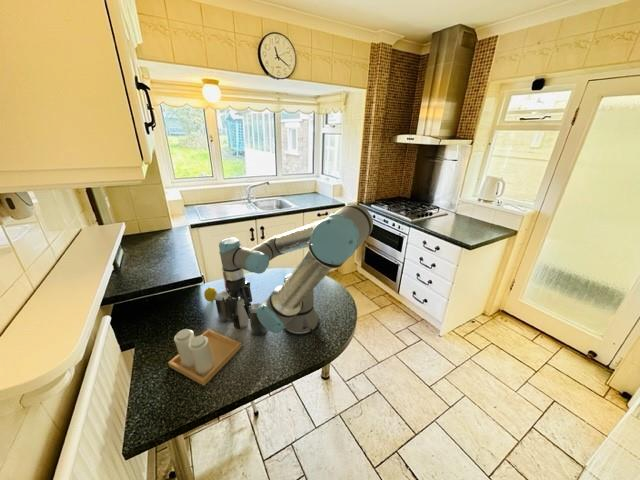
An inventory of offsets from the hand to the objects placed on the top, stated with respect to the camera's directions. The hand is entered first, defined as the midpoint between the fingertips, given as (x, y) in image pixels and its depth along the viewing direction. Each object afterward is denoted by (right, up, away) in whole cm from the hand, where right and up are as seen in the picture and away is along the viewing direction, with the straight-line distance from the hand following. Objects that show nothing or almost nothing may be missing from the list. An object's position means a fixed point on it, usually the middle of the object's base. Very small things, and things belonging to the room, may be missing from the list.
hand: (242, 322), depth 110 cm
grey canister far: (-8, +1, +4) cm, 9 cm away
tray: (-8, -8, -15) cm, 19 cm away
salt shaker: (0, -1, 0) cm, 1 cm away
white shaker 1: (-13, -8, -17) cm, 23 cm away
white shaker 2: (-7, -10, -20) cm, 23 cm away
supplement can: (-11, +9, +24) cm, 28 cm away
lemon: (-19, +5, +15) cm, 25 cm away
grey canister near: (+8, -3, -3) cm, 9 cm away
